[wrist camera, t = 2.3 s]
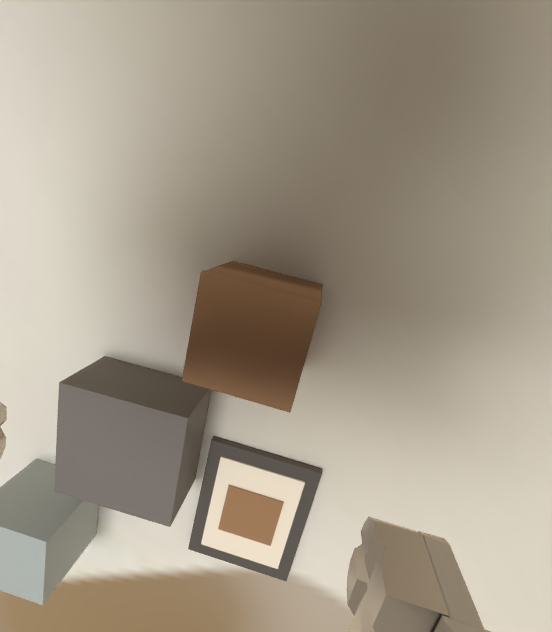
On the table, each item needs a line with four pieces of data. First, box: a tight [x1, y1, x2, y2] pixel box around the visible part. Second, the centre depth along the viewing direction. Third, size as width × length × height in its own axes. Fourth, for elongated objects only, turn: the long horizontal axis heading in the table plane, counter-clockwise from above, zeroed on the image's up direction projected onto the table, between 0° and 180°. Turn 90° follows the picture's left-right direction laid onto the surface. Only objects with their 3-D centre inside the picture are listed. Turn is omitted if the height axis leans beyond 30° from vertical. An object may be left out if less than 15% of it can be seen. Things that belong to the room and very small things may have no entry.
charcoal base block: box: [54, 356, 211, 527], centre depth 20 cm, size 7×7×4 cm
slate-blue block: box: [0, 459, 99, 605], centre depth 22 cm, size 5×5×5 cm
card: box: [188, 437, 322, 581], centre depth 22 cm, size 9×7×1 cm
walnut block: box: [182, 261, 322, 412], centre depth 17 cm, size 5×5×5 cm
